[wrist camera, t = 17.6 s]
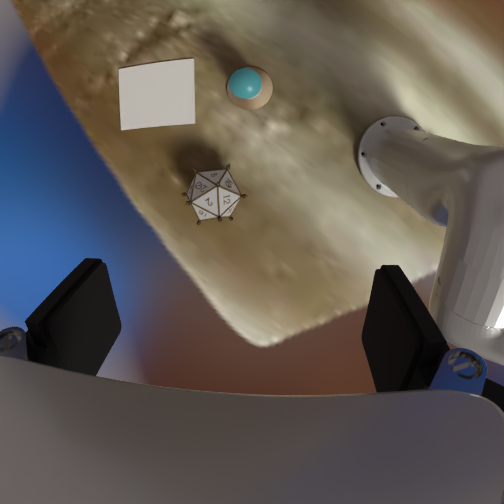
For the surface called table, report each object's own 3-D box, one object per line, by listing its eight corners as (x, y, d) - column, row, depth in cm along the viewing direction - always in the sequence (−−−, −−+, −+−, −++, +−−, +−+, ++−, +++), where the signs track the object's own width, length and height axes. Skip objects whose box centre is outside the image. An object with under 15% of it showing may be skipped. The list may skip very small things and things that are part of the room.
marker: (263, 75, 40) (261, 67, 32) (263, 100, 42) (261, 98, 34) (236, 75, 40) (228, 68, 32) (237, 100, 42) (228, 98, 34)
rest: (272, 67, 40) (272, 66, 39) (272, 109, 43) (272, 109, 42) (227, 67, 40) (226, 67, 40) (227, 110, 43) (227, 110, 43)
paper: (194, 58, 40) (193, 58, 39) (195, 123, 44) (194, 123, 44) (119, 69, 40) (118, 69, 40) (121, 130, 45) (121, 130, 44)
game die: (210, 187, 52) (160, 202, 45) (230, 147, 46) (175, 157, 39) (244, 226, 50) (194, 248, 43) (270, 188, 44) (216, 205, 37)
